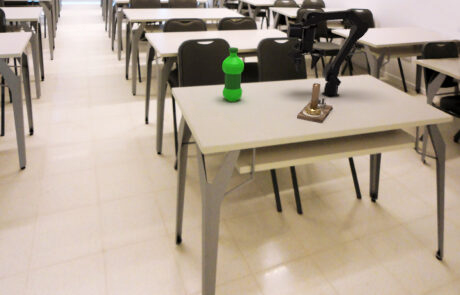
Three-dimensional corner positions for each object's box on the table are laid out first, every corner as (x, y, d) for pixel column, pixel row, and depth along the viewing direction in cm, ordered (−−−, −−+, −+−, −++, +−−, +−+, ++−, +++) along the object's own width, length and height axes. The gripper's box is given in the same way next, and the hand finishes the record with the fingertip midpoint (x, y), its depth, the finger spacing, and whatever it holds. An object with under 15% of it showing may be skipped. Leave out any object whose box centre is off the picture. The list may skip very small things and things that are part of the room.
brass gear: (319, 110, 169) (322, 82, 163) (322, 115, 162) (326, 87, 156) (303, 109, 168) (307, 81, 162) (306, 115, 162) (310, 86, 156)
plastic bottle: (245, 102, 180) (247, 50, 169) (223, 103, 178) (224, 51, 167) (240, 95, 189) (242, 45, 178) (219, 96, 187) (220, 46, 176)
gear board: (309, 104, 179) (310, 92, 177) (332, 108, 175) (334, 96, 172) (297, 118, 164) (298, 105, 161) (321, 123, 160) (323, 109, 157)
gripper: (312, 34, 189) (309, 64, 196) (282, 36, 181) (279, 68, 188) (327, 38, 181) (323, 69, 188) (296, 40, 173) (293, 73, 180)
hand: (304, 70), depth 186 cm, fingers open, 9 cm apart
